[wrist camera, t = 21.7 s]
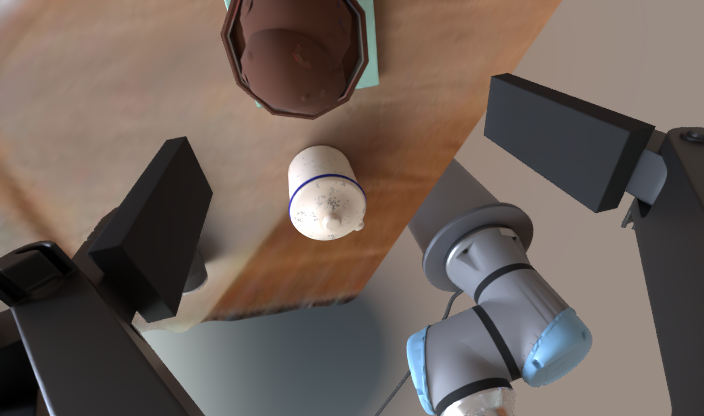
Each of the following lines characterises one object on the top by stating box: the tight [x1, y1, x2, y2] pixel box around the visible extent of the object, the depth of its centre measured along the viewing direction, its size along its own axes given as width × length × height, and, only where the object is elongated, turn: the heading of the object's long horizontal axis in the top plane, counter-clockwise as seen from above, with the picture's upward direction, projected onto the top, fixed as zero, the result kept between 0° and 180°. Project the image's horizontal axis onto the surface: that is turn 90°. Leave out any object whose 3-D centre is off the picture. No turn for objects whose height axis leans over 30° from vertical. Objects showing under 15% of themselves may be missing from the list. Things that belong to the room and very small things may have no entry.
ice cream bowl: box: [221, 0, 369, 120], centre depth 25 cm, size 11×11×15 cm
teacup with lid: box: [288, 145, 366, 240], centre depth 39 cm, size 12×9×12 cm
